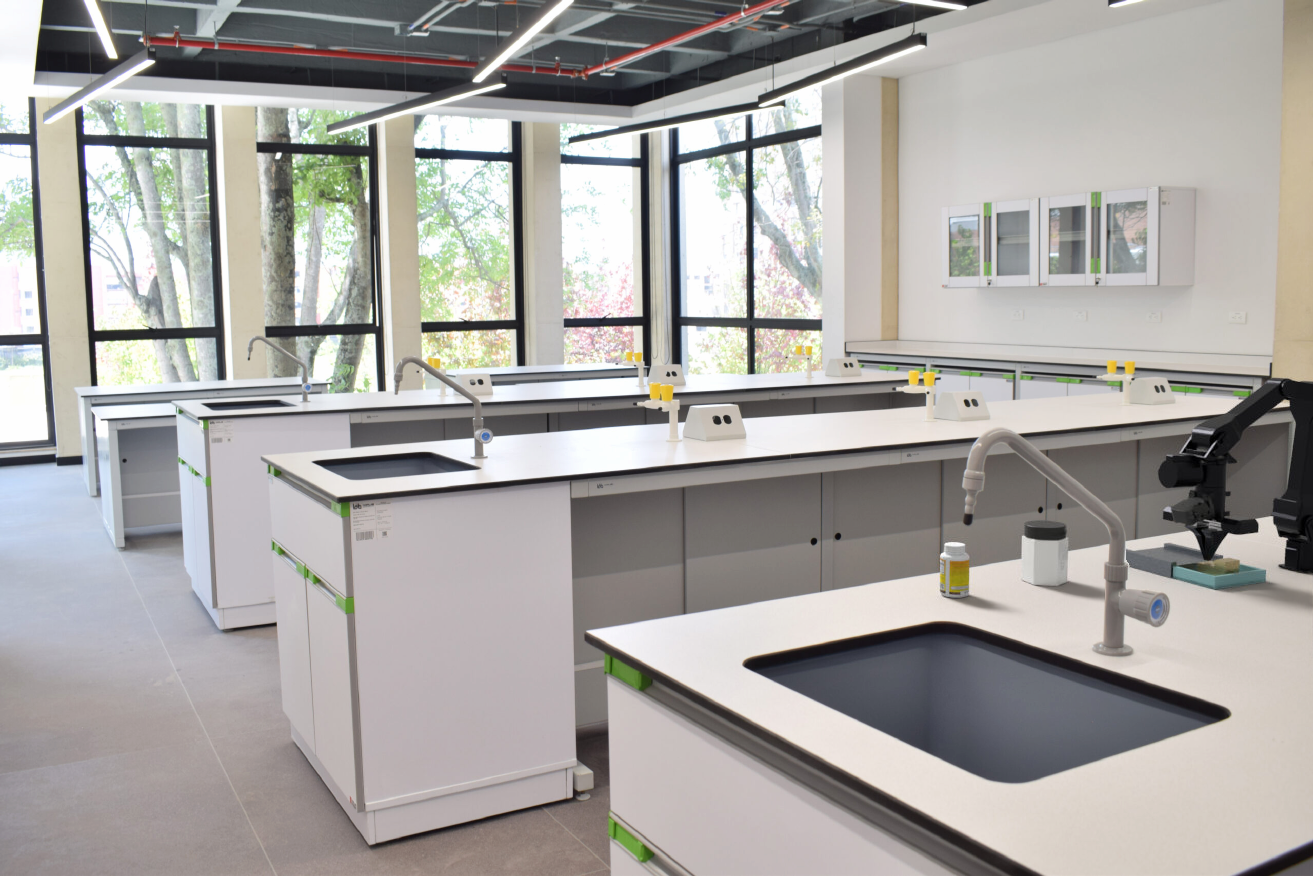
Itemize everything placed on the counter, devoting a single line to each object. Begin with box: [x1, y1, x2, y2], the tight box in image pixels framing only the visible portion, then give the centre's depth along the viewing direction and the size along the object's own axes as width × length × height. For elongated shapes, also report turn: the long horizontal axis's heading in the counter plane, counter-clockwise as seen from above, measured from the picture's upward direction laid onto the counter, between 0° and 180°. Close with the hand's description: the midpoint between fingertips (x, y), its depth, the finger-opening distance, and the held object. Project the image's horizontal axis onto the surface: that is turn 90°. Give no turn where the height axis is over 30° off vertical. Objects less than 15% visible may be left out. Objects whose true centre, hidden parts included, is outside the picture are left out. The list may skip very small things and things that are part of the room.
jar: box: [1020, 519, 1069, 587], centre depth 214 cm, size 9×8×12 cm
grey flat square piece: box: [1125, 542, 1224, 579], centre depth 224 cm, size 14×14×3 cm
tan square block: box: [1197, 561, 1214, 576], centre depth 214 cm, size 4×4×2 cm
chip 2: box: [1214, 557, 1241, 576], centre depth 211 cm, size 4×4×2 cm
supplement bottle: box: [939, 541, 970, 599], centre depth 205 cm, size 6×6×10 cm
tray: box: [1172, 563, 1267, 591], centre depth 213 cm, size 14×10×2 cm
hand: (1207, 560), depth 215 cm, fingers closed
